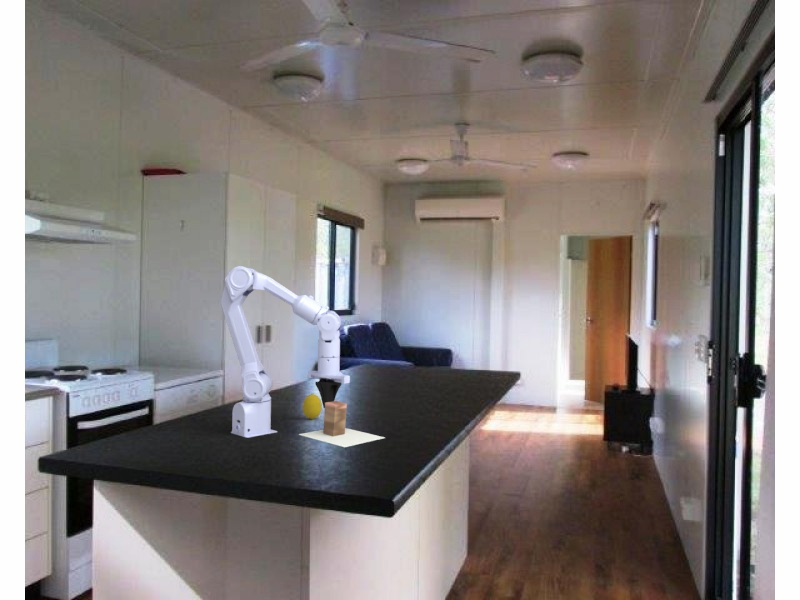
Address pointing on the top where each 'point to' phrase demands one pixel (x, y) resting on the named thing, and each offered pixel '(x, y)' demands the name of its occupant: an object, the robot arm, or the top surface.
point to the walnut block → (334, 418)
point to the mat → (343, 437)
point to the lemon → (312, 406)
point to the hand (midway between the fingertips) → (328, 408)
